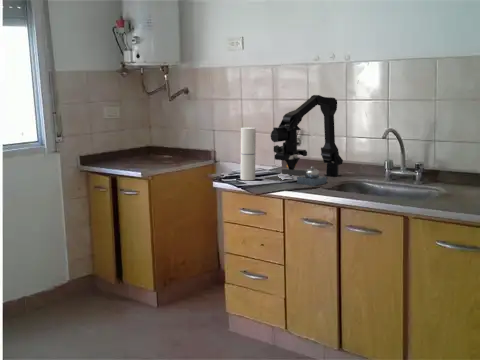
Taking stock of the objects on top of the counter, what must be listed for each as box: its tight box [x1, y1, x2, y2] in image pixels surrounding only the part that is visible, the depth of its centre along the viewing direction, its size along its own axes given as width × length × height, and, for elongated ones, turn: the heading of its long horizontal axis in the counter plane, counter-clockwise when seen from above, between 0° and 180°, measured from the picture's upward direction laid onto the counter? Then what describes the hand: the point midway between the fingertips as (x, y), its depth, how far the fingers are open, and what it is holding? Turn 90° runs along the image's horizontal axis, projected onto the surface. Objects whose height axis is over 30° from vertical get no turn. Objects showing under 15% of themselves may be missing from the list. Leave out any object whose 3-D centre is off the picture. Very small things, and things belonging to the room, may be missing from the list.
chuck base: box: [296, 175, 328, 187], centre depth 272 cm, size 10×10×3 cm
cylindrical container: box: [240, 126, 257, 181], centre depth 279 cm, size 7×7×25 cm
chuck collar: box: [281, 166, 320, 177], centre depth 273 cm, size 18×6×5 cm, turn 71°
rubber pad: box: [264, 174, 282, 182], centre depth 284 cm, size 10×10×1 cm
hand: (291, 172), depth 277 cm, fingers closed
